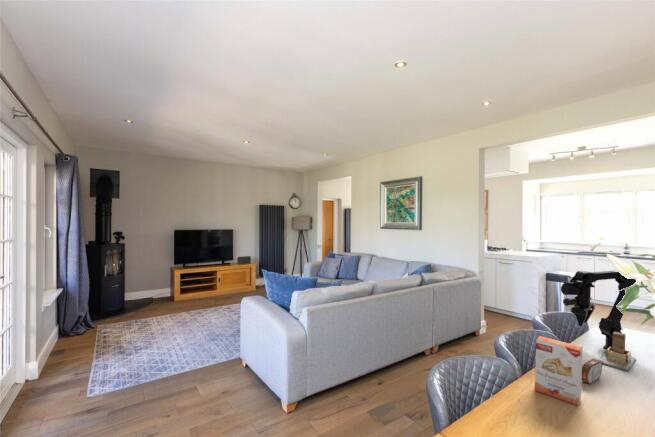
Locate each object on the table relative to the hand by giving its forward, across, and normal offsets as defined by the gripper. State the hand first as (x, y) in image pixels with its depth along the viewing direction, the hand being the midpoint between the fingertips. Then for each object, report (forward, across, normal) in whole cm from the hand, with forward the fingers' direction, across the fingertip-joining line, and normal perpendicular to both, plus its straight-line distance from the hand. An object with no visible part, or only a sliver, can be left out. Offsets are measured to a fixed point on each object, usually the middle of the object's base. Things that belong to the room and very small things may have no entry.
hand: (582, 324), depth 166 cm
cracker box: (+13, +65, +7) cm, 67 cm away
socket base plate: (+13, +5, +14) cm, 20 cm away
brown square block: (+12, +4, +15) cm, 20 cm away
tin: (+13, +39, +12) cm, 43 cm away
